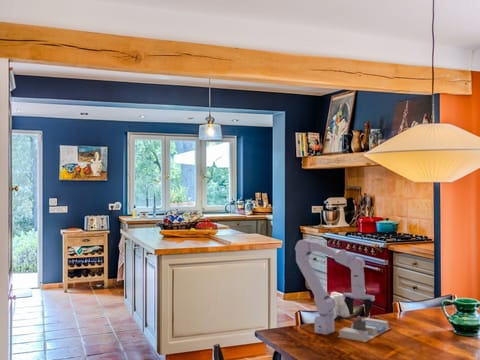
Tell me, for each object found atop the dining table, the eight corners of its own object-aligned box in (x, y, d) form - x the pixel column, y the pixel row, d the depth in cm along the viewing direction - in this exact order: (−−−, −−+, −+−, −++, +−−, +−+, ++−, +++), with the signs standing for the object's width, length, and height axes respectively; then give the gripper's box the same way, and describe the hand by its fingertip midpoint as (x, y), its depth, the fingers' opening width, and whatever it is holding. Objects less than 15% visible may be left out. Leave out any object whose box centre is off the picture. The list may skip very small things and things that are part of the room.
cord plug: (361, 336, 211) (361, 318, 211) (353, 335, 213) (352, 316, 214) (365, 334, 214) (365, 316, 214) (357, 333, 217) (357, 315, 217)
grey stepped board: (365, 344, 203) (364, 334, 203) (337, 338, 212) (337, 328, 212) (390, 330, 223) (390, 321, 223) (364, 325, 232) (364, 316, 232)
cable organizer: (317, 314, 255) (317, 292, 255) (334, 312, 259) (333, 290, 259) (333, 321, 241) (332, 297, 242) (351, 318, 245) (350, 295, 246)
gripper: (377, 284, 213) (378, 315, 213) (347, 281, 222) (348, 311, 222) (370, 287, 208) (371, 319, 207) (340, 284, 217) (341, 314, 216)
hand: (359, 315), depth 214 cm, fingers open, 7 cm apart
